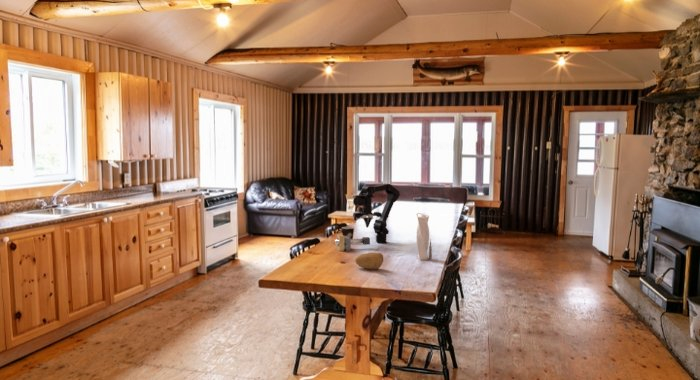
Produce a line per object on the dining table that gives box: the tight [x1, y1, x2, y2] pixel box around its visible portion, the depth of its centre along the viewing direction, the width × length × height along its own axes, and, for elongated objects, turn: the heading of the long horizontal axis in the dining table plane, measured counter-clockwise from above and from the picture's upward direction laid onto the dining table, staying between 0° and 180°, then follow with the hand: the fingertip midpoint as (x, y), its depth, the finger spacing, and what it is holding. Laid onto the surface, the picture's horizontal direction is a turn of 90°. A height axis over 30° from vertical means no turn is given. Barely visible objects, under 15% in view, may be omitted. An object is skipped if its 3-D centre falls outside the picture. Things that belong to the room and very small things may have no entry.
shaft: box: [334, 236, 371, 246], centre depth 303 cm, size 22×4×4 cm, turn 103°
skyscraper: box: [416, 212, 433, 262], centre depth 276 cm, size 8×8×28 cm
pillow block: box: [344, 236, 352, 252], centre depth 302 cm, size 3×9×8 cm, turn 13°
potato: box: [354, 251, 384, 271], centre depth 254 cm, size 9×16×9 cm, turn 70°
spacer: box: [336, 233, 345, 252], centre depth 301 cm, size 3×8×10 cm, turn 13°
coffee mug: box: [336, 226, 355, 239], centre depth 325 cm, size 12×9×10 cm
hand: (367, 227), depth 315 cm, fingers closed
